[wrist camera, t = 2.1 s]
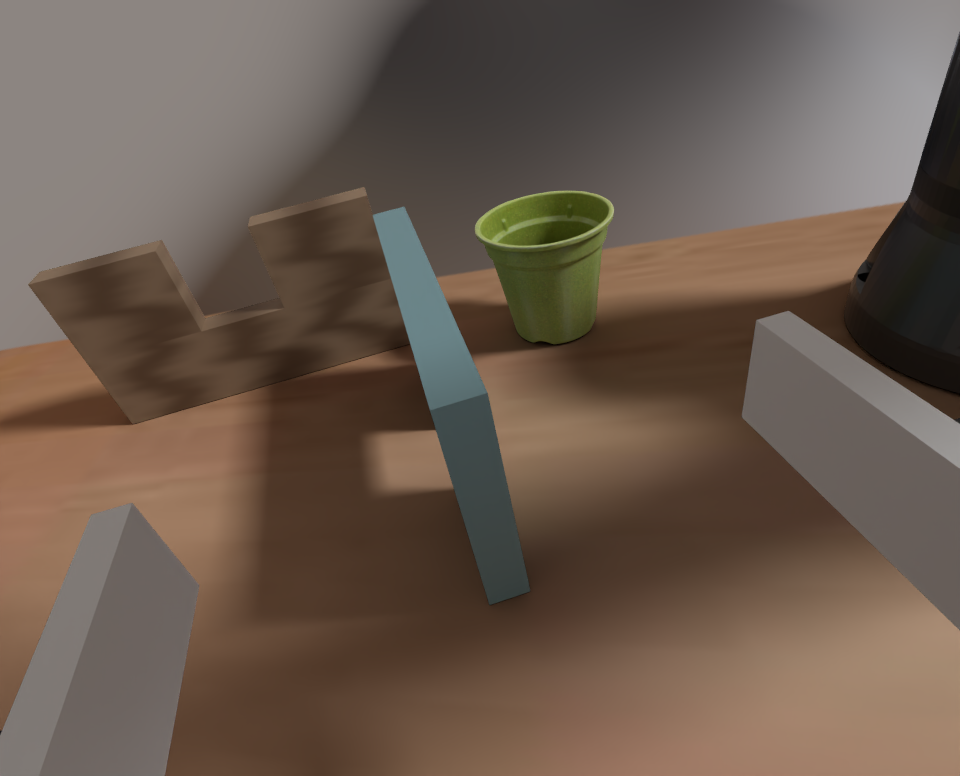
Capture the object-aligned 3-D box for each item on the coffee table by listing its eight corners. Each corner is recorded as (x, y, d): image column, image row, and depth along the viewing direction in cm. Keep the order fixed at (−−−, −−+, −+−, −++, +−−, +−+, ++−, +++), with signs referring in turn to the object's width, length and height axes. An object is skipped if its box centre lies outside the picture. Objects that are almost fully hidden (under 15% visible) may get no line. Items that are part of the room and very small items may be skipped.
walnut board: (407, 331, 46) (364, 187, 39) (411, 343, 45) (366, 195, 38) (138, 408, 44) (39, 271, 37) (132, 424, 43) (27, 284, 36)
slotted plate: (445, 363, 42) (404, 206, 35) (530, 591, 26) (487, 393, 19) (419, 370, 42) (372, 214, 34) (489, 605, 26) (429, 410, 19)
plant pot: (475, 320, 46) (454, 218, 41) (574, 281, 48) (566, 179, 43) (530, 376, 39) (512, 262, 34) (643, 327, 41) (643, 213, 36)
